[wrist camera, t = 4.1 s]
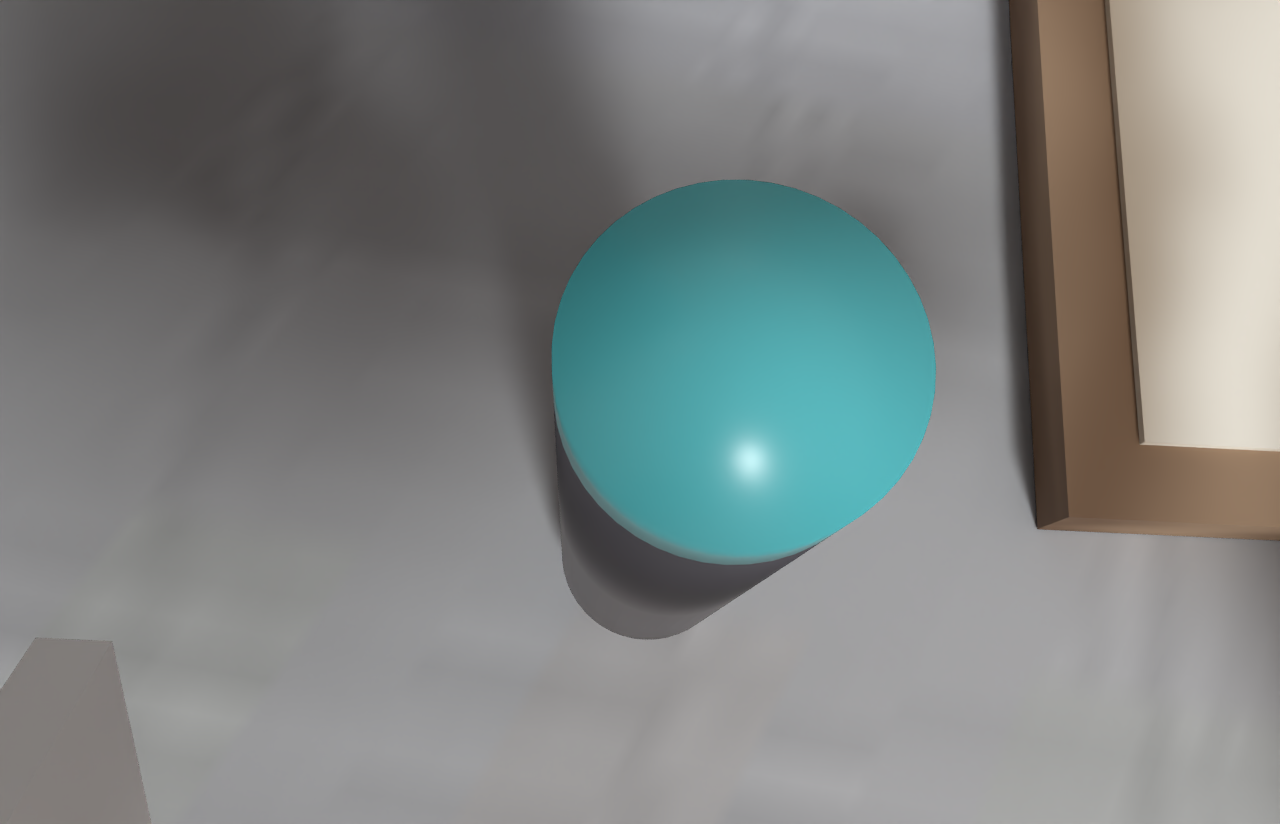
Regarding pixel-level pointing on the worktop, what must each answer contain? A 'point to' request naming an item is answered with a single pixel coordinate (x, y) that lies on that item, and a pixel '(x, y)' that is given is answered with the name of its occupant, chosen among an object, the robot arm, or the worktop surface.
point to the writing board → (1151, 262)
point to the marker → (727, 396)
